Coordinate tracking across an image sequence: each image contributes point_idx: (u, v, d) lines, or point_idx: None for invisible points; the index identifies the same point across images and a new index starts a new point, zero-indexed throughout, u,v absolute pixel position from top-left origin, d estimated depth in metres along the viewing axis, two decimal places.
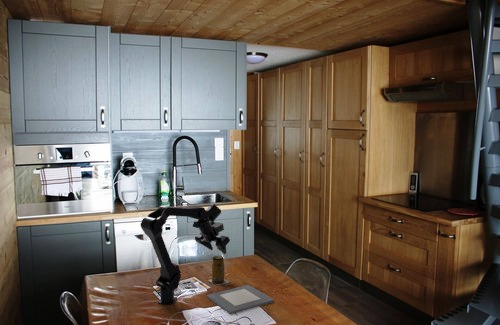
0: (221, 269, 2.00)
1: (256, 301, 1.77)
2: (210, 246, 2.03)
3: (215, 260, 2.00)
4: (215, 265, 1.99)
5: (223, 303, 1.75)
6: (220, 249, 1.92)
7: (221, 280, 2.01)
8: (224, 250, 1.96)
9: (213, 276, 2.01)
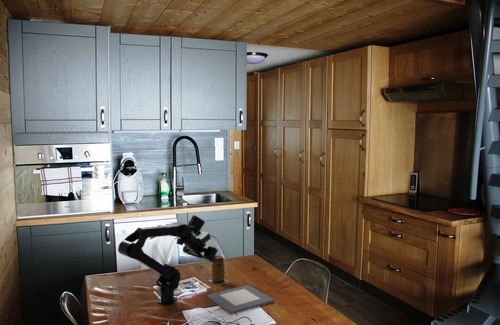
0: (221, 269, 2.00)
1: (256, 301, 1.77)
2: (200, 254, 1.98)
3: None
4: (215, 265, 1.99)
5: (223, 303, 1.75)
6: None
7: (221, 280, 2.01)
8: (214, 259, 1.91)
9: (213, 276, 2.01)
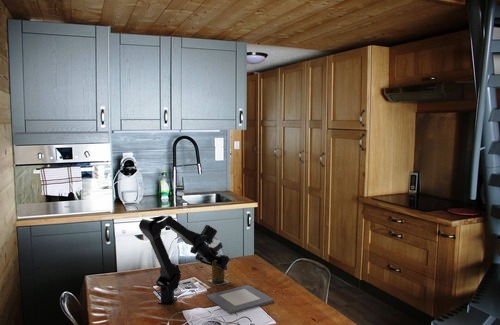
0: (221, 269, 2.00)
1: (256, 301, 1.77)
2: None
3: None
4: (215, 265, 1.99)
5: (223, 303, 1.75)
6: (220, 268, 1.93)
7: (221, 280, 2.01)
8: (225, 267, 1.98)
9: (213, 276, 2.01)
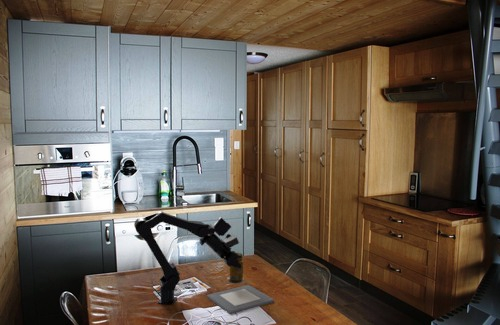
0: (237, 268, 1.86)
1: (256, 301, 1.77)
2: None
3: None
4: None
5: (223, 303, 1.75)
6: None
7: (237, 279, 1.87)
8: (237, 265, 1.85)
9: (230, 273, 1.88)
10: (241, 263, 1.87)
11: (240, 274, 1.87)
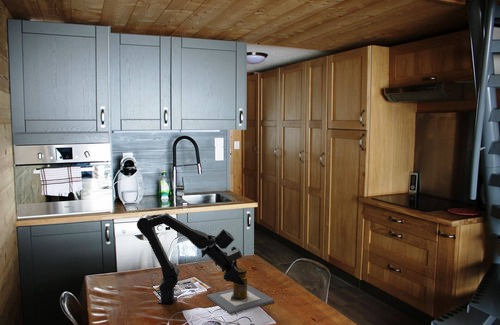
0: (239, 284, 1.78)
1: (256, 301, 1.77)
2: None
3: None
4: None
5: (223, 303, 1.75)
6: (228, 281, 1.73)
7: (239, 296, 1.78)
8: (239, 281, 1.75)
9: (233, 290, 1.81)
10: (244, 280, 1.78)
11: (243, 291, 1.78)
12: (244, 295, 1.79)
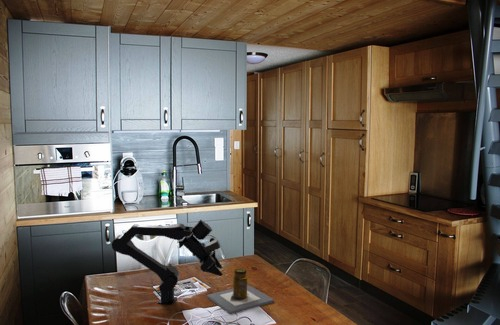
0: (239, 284, 1.78)
1: (256, 301, 1.77)
2: (217, 263, 1.84)
3: (234, 272, 1.80)
4: (234, 278, 1.79)
5: (223, 303, 1.75)
6: (206, 271, 1.72)
7: (239, 296, 1.78)
8: (216, 272, 1.74)
9: (233, 290, 1.81)
10: (244, 280, 1.78)
11: (243, 291, 1.78)
12: (244, 295, 1.79)
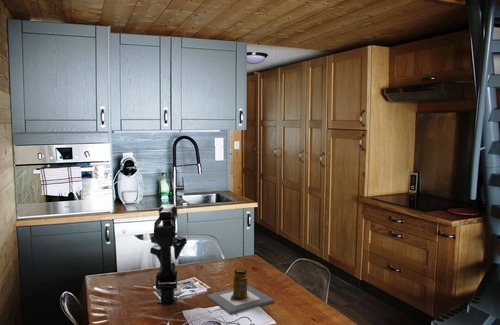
0: (239, 284, 1.78)
1: (256, 301, 1.77)
2: None
3: (234, 272, 1.80)
4: (234, 278, 1.79)
5: (223, 303, 1.75)
6: (183, 246, 1.97)
7: (239, 296, 1.78)
8: None
9: (233, 290, 1.81)
10: (244, 280, 1.78)
11: (243, 291, 1.78)
12: (244, 295, 1.79)
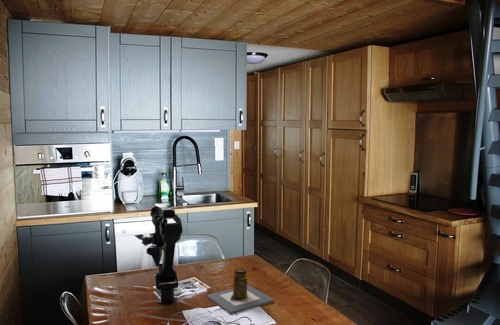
0: (239, 284, 1.78)
1: (256, 301, 1.77)
2: None
3: (234, 272, 1.80)
4: (234, 278, 1.79)
5: (223, 303, 1.75)
6: None
7: (239, 296, 1.78)
8: None
9: (233, 290, 1.81)
10: (244, 280, 1.78)
11: (243, 291, 1.78)
12: (244, 295, 1.79)
